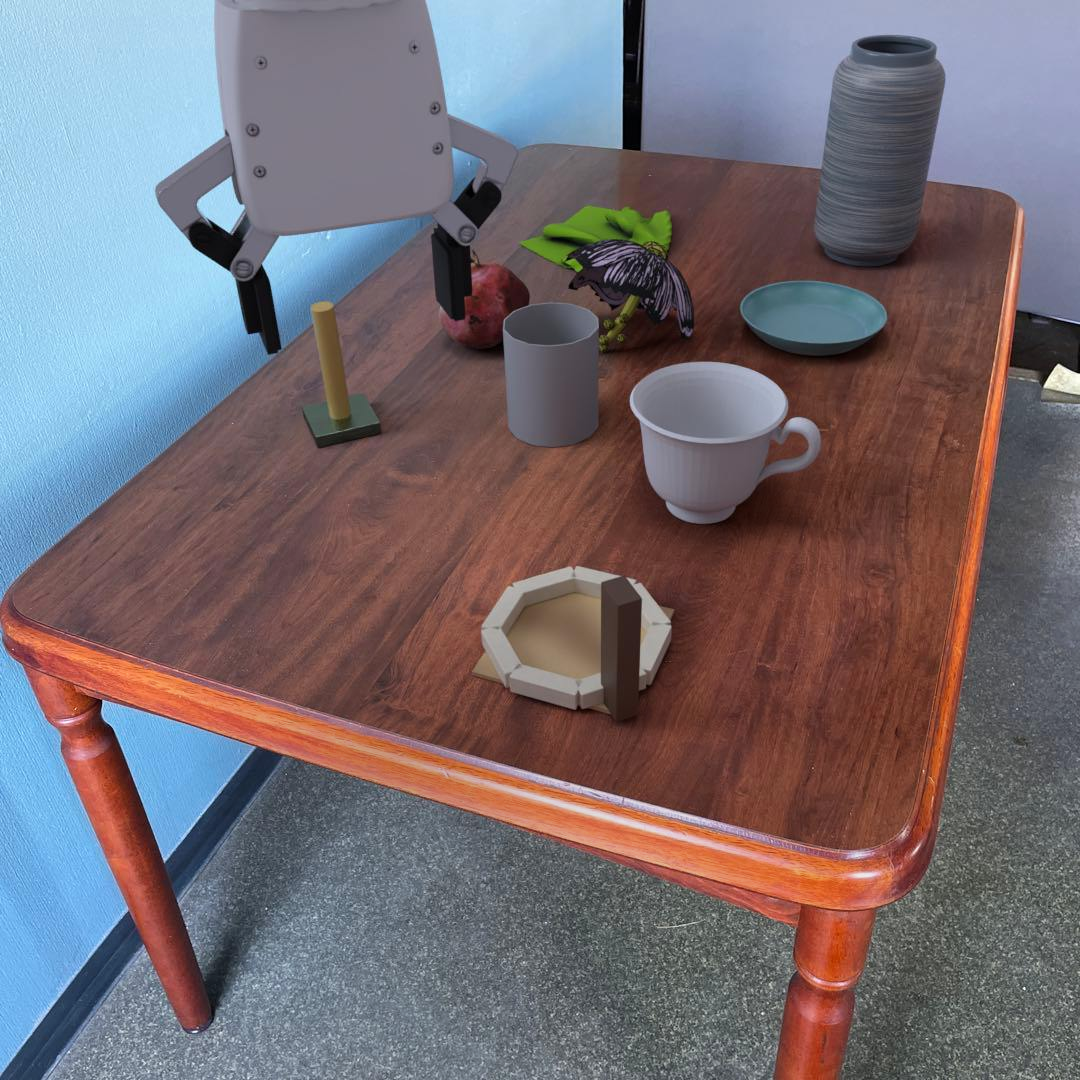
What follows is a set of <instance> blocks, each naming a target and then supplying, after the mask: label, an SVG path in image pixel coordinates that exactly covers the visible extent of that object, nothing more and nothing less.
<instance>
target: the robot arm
mask: <svg viewBox="0 0 1080 1080" xmlns="http://www.w3.org/2000/svg"><path fill="white" fill-rule="evenodd" d="M213 27H214V28H213V29H214V30H213V32H214V33H213V35H214V52H215V53H214V56H215V69H216V79H217V88H218V97H219V104H220V105H219V106H220V107H219V108H220V114H221V120H222V121H221V122H222V128H223V137H221V138H220V139H218V140H217V141H215V143H213V144H212V145H210V146H209V147H207V148H206V149H205V150H203V151H201V152H200V153H199V154H197V155H196V156H195V157H193V158H192V159H191V160H189V161H187V162H186V163H185V164H183V165H182V166H180V167H179V168H178V169H176V170H175V171H174V172H172V173H170V174H169V175H167V176H166V177H165V178H164V179H162V180H161V181H159V182H158V183H157V184H156V185H155V189H154V193H155V198H156V201H157V204H158V205H159V207H160V209H162V211H163V212H164V213H165V214H166V216H167V217H168V218H169V219H170V220H171V221H172V223H173V224H174V225H175V226H176V227H177V229H178V230H179V231H180V233H182V234H183V236H184V237H185V238H186V239H187V240H188V242H189V243H190V245H191V246H192V248H194V250H195V251H197V252H199V253H201V255H204V256H205V257H207V259H210V260H211V261H213V262H214V263H216V264H217V265H218V266H220V267H222V268H223V269H225V270H227V271H228V272H229V273H230V274H231V275H232V277H233V278H234V280H235V285H236V291H237V294H238V301H239V307H240V311H241V316H242V321H243V325H244V328H245V331H246V333H247V335H249V336H250V335H255V334H259V337H260V339H261V342H262V344H263V347H264V349H265V351H266V354H267V356H269V355H274V354H275V355H276V354H279V351H281V350H283V347H282V343H281V337H280V336H281V335H280V331H279V325H278V320H277V314H276V308H275V302H274V297H273V291H272V285H271V281H270V278H269V276H268V274H267V271H266V269H265V267H264V265H263V263H264V261H265V260H266V258H267V256H268V255H269V253H270V252H271V250H273V249H272V248H273V247H274V246H275V244H276V243H277V241H278V239H279V238H280V237H290V236H299V235H307V234H313V233H314V234H315V233H320V232H321V233H322V232H328V231H336V230H342V229H349V228H355V227H362V226H369V225H375V224H381V223H383V224H384V223H389V222H395V221H401V220H402V221H403V220H407V219H413V218H418V217H424V216H427V215H429V216H430V217H431V218H432V219H433V220H434V221H435V222H436V223H437V227H433V233H431V234H430V241H431V242H430V243H431V251H432V252H431V254H432V255H431V256H432V266H433V267H432V268H433V281H434V293H435V294H434V295H435V299H436V301H437V303H438V305H441V307H442V308H443V309H444V311H445V312H446V314H447V315H448V316H449V318H450V319H454V321H460V320H465V298H464V297H468V296H472V273H471V258H472V256H471V245H473V244H474V243H476V241H477V240H478V237H479V230H480V228H481V227H482V226H483V225H484V223H485V222H486V221H487V220H488V218H489V217H490V216H491V215H492V213H493V212H494V211H495V210H496V208H498V206H499V205H500V203H501V201H502V191H503V189H504V186H506V185H507V182H508V180H509V178H510V177H511V173H512V171H513V169H514V166H515V164H516V162H517V159H518V156H519V150H518V148H517V146H516V145H515V144H513V143H512V142H511V141H510V140H509V139H507V138H506V137H504V136H502V135H499V134H496V133H494V132H492V131H490V130H487V129H485V128H483V127H480V126H477V125H476V124H472V123H470V122H468V121H466V120H463V119H461V118H459V117H457V116H454V115H452V114H450V113H448V106H447V99H446V93H445V86H444V81H443V75H442V69H441V63H440V58H439V53H438V47H437V42H436V39H435V34H434V28H433V24H432V20H431V17H430V13H429V8H428V5H427V1H426V0H214V9H213ZM453 149H456V150H458V151H460V152H463V153H466V154H468V155H471V156H473V157H475V158H478V159H479V164H478V167H477V170H476V171H477V172H476V175H475V176H474V177H473V178H472V179H471V180H470V181H469V183H468V184H467V185H466V186H465V188H464V189H463V190H462V192H461V193H460V194H459V195H458V197H456V199H455V200H454V201H453V200H452V197H453V193H454V184H455V172H454V155H453V154H454V153H453ZM229 178H230V179H231V183H232V187H233V191H234V195H235V198H236V200H237V202H238V204H239V205H240V206H241V205H242V206H244V209H243V210H242V212H241V214H240V215H239V217H238V219H237V220H236V222H235V223H234V225H233V227H232V228H231V230H230V231H229V232H228V231H227V230H226V229H224V228H223V227H221V226H220V225H218V224H217V223H216V222H214V221H212V220H211V219H209V218H208V217H207V216H206V215H205V214H204V212H202V211H201V209H200V207H199V206H198V205H197V204H198V202H199V200H200V199H201V198H203V197H204V196H205V195H206V194H208V193H209V192H211V191H212V190H214V189H215V188H217V187H218V186H219V185H221V184H222V183H224V182H225V181H226V180H228V179H229Z"/></svg>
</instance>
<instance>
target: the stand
mask: <svg viewBox="0 0 1080 1080" xmlns="http://www.w3.org/2000/svg"><path fill="white" fill-rule="evenodd" d="M310 312H311V318H312V325H313V329H314V335H315V341H316V347H317V352H318V358H319V363H320V370H321V375H322V381H323V386H324V387H323V388H324V393H325V398H326V400H324V401H319V402H314V403H310V404H305V405H302V406H301V410H302V416H303V418H304V421H305V423H306V425H307V427H308V430H309V432H310V434H311V436H312V439H313V441H314V443H315V445H316V447H317V448H318V449H319V448H324V447H328V446H331V445H336V444H340V443H344V442H348V441H353V440H357V439H361V438H367V437H370V436H374V435H379V434H382V425H381V421H380V419H379V418H378V416H377V414H376V412H375V410H374V409H373V407H372V405H371V404H370V401H369V400H368V398H367V396H366V395H365V393H364V392H360V393H359V392H358V393H355V394H351V395H349V391H348V385H347V378H346V372H345V371H346V370H345V366H344V359H343V354H342V353H343V352H342V348H341V343H340V342H341V341H340V334H339V328H338V322H337V315H336V310H335V304H334V303H333V302H331V301H328V300H327V301H326V300H325V301H318V302H314V303H313V304H311V306H310Z"/></svg>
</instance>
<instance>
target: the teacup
mask: <svg viewBox="0 0 1080 1080" xmlns="http://www.w3.org/2000/svg"><path fill="white" fill-rule="evenodd" d="M629 406H630V409H631V411H632V412H633V414H634V416H635V417H636V418H637V419H638V420H639V425H640V430H641V431H640V432H641V440H642V450H643V451H642V452H643V460H644V466H645V472H646V475H647V479H648V482H649V483H650V485H651V487H652V489H653V490H654V492H656V494H657V495H658V496H659V497H660V498H661V499H662V500H664V501H665V505H666V506H665V507H666V508H667V510H668V511H669V512H670V513H671V515H673V516H674V517H676V518H678V519H680V520H682V521H684V522H686V523H690V524H697V525H698V524H699V525H709V524H714V523H715V524H716V523H719V522H723V521H725V520H727V519H728V518H729V517H731V516H732V515H733V514H734V512H735V510H736V507H737V506H739V505H740V504H742V503H743V502H744V501H745V500H748V498H749V497H750V496H751V495H752V494H753V492H754V491H755V490H756V488H757V486H758V485H759V484H760V483H761V482H763V481H764V480H765V479H767V478H768V477H770V476H774V475H779V474H792V473H797V472H799V471H803V470H804V469H806V468H808V467H809V466H810V465H812V464H813V463H814V461H815V460H816V459H817V457H818V455H819V453H820V451H821V444H822V436H821V433H820V429H819V428H818V426H817V425H816V424H815V422H813V421H812V420H810V419H808V418H806V417H800V416H798V417H792V418H790V419H788V420H787V421H786V423H785V424H784V426H783V428H782V427H781V426H780V424H782V422H783V421H784V419H786V416H787V414H788V411H789V400H788V398H787V396H786V394H785V392H784V390H782V388H780V387H779V385H778V384H777V383H775V382H774V381H773V380H772V379H770V378H769V377H767V375H764V374H762V373H760V372H757V371H755V370H753V369H751V368H748V367H744V366H741V365H737V364H732V363H726V362H719V361H717V362H716V361H691V362H683V363H675V364H672V365H668V366H665V367H662V368H659V369H656V370H654V371H652V372H651V373H648V374H647V375H646V376H645V377H643V378H642V379H640V381H639V382H637V384H635V386H634V387H633V389H632V391H631V393H630V395H629ZM792 433H796V434H799V435H802V436H803V437H804V438H805V439H806V440H807V443H808V448H807V450H806V451H805V452H804V453H803V454H801V455H799V456H798V457H794V458H786V459H780V460H776V461H774V462H771V463H770V464H767V466H765V465H766V461H767V458H768V453H769V450H770V447H771V446H770V445H771V443H772V442H771V441H774V442H775V443H776V444H777V445H783V444H784V443H786V441H787V439H788V437H789V435H790V434H792Z"/></svg>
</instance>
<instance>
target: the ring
mask: <svg viewBox="0 0 1080 1080" xmlns="http://www.w3.org/2000/svg"><path fill="white" fill-rule="evenodd" d="M534 576H535V577H534ZM534 576H532V577H529V578H525V579H522V580H518V581H515V582H512V585H507V587H506V588H505V590H504V592H503V593H502V595H501V596H500V598H499V599H498V600H497V602H496V603H495V605H494V606H493V608H492V609H491V611H490V613H489V614H488V615H487V617H486V619H485V620H484V621H483V623H482V624H481V630H480V637H481V645H482V647H483V648H484V652H485V651H486V652H487V654H488V656H489V658H490V660H491V662H492V663H493V665H494V667H495V669H496V671H497V673H498V674H499V676H500V678H501V680H502V682H503V684H502V685H503V686H504V687H505V688H506V689H508V688H509V691H510V692H511V693H513V694H514V693H515V694H517V695H520V696H525V697H529V698H532V699H535V700H537V701H543V702H545V703H549V704H553V705H555V706H556V705H557V706H560V707H564V708H568V709H571V710H573V711H574V710H575V711H576V710H577V708H578V707H580V709H582V710H584V709H585V710H586V709H589V708H588V707H591V706H594V705H597V704H600V703H603V702H604V704H605V705H606V707H607V709H608V710H609V712H610V713H611V714H610V715H611V717H612V718H613V720H614V721H615V723H618V722H621V721H624V720H628V719H631V718H634V717H637V716H638V715H639V700H640V699H639V696H640V695H639V694H640V691H642V690H645V689H646V688H647V685H648V686H651V685H652V684H653V681H654V678H655V676H656V674H657V672H658V670H659V667H660V666H661V664H662V661H663V659H664V657H665V654H666V652H667V650H668V648H669V646H670V643H671V641H672V632H673V631H672V629H673V628H672V627H673V626H672V620H671V621H670V620H669V619H668V617H667V616H666V615H665V613H664V612H663V611H662V609H661V608H660V607H659V606H660V605H658V603H657V602H656V600H655V599H654V598H653V596H652V595H651V594H650V592H649V591H648V590H647V589H646V587H645V585H643V583H642V582H638V583H637V579H634V578H631V577H627V576H626V575H617V574H613V573H610V572H605V571H600V570H597V569H593V568H588V567H583V566H579V565H576V566H575V568H574V569H573V566H571V565H570V566H567V567H564V568H560V569H556V570H553V571H550V572H546V573H542V574H539V575H534ZM573 592H576V593H580V594H584V595H588V596H592V597H597V598H601V673H598V674H595V675H592V676H589V677H586V678H583V679H580V680H577V679H574V678H570V677H566V676H563V675H559V674H555V673H552V672H548V671H544V670H541V669H537V668H533V667H530V666H526V665H522V664H521V662H520V660H519V658H518V657H517V655H516V653H515V651H514V650H513V648H512V646H511V644H510V643H509V641H508V639H507V638H506V635H507V633H508V632H509V630H510V628H511V627H512V625H513V624H514V622H515V621H516V619H517V617H518V616H519V614H520V613H521V611H522V610H523V608H524V607H525V606H529V605H532V604H535V603H539V602H542V601H546V600H549V599H552V598H556V597H559V596H562V595H566V594H569V593H573ZM641 626H642V627H643V629H644V630H645V631H646V633H647V634H646V636H645V638H644V640H643V642H642V644H641V646H640V643H641ZM579 705H580V706H579Z"/></svg>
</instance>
